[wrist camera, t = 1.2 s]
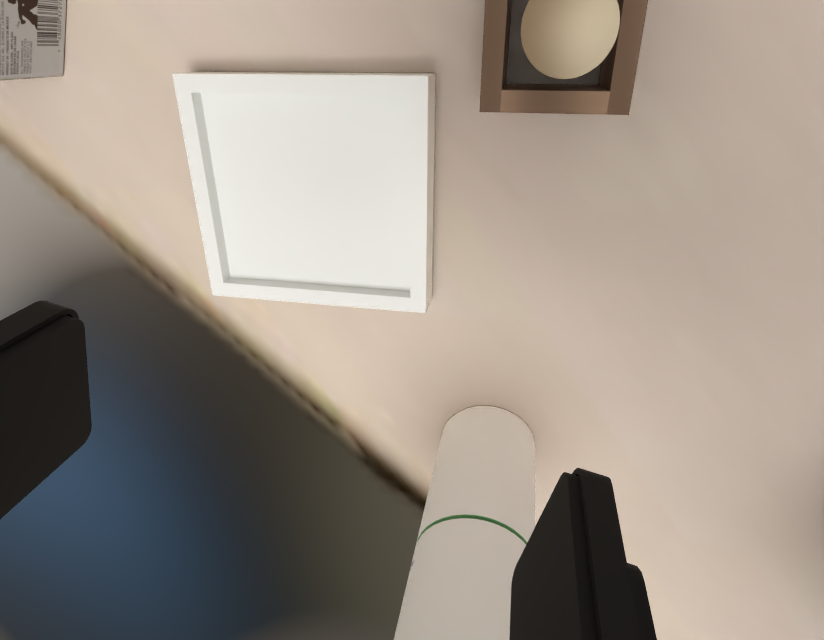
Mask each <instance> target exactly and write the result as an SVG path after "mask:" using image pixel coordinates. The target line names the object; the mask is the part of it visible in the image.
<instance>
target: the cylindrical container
mask: <svg viewBox="0 0 824 640" xmlns="http://www.w3.org/2000/svg"><path fill="white" fill-rule="evenodd" d="M534 528H535V443H534V438H533V435H532V432H531V431H530V429H529V428H528V426H527V425H526V424H525V423H524V422H523V421H522V420H521V419H520V418H519V417H517V416H516V415H515V414H513V413H511V412H509V411H507V410H505V409H501V408H498V407H492V406H475V407H470V408H467V409H464V410H462V411H460V412H458V413H456V414H455V415H453V416H452V417H451V418H450V419H449V420H448V422H447V423H446V425H445V427H444V429H443V432H442V436H441V440H440V444H439V449H438V453H437V457H436V462H435V466H434V470H433V474H432V479H431V483H430V487H429V492H428V496H427V500H426V504H425V509H424V513H423V517H422V522H421V526H420V530H419V535H418V539H417V543H416V547H415V552H414V556H413V560H412V565H411V569H410V573H409V578H408V582H407V586H406V590H405V595H404V599H403V603H402V608H401V612H400V616H399V621H398V625H397V629H396V633H395V638H394V640H509V638H510V608H511V584H512V577H513V573H514V569H515V567H516V564H517V562H518V560H519V558H520V556H521V554H522V552H523V550H524V548H525V546H526V544H527V542H528V540H529V538H530V536H531V534H532V532H533V530H534Z"/></svg>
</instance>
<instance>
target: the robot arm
mask: <svg viewBox="0 0 824 640" xmlns="http://www.w3.org/2000/svg"><path fill="white" fill-rule="evenodd" d="M91 426H92V425H91V412H90V397H89V384H88V370H87V356H86V342H85V328H84V324H83V322H82V321H81V320H79V317H78V314H77V313H76V312H75V311H74V310H72V309H70V308H67V307H64V306H60V305H57V304H54V303H50V302H48V301H38V302H35V303H33V304H31V305H29V306H28V307H26V308H24V309H22V310H20V311H18V312H16V313H14V314H12V315H10V316H9V317H6V318H5V319H3V320H1V321H0V519H1V518H2V517H3V516H4V515H5V514H7V513H8V512H9V511H10V510H11V509H12V508H13V507H14V506H15V505H17V504H18V503H19V502H20V501H21V500H22V499H23V498H24V497H25V496H27V495H28V494H29V493H30V492H31V491H32V490H33V489H34V488H35V487H37V486H38V485H39V484H40V483H41V482H42V481H43V480H44V479H46V478H47V477H48V476H49V475H50V474H51V473H52V472H53V471H54V470H55V469H57V468H58V467H59V466H60V465H61V464H62V463H63V462H64V461H65V460H67V459H68V458H69V457H70V456H71V455H72V454H73V453H74V452H76V451H77V450H78V449H79V448H80V447H81V446H82V445H83V444H84V443H85V442H86V440H87V439H88V437H89V435H90V432H91ZM509 640H657V638H656V634H655V629H654V624H653V620H652V615H651V610H650V606H649V601H648V596H647V591H646V587H645V582H644V579H643V576H642V573H641V571H640V569H639V568H638V567H637V566H635V565H632V564H629V563H627V562H626V556H625V551H624V546H623V540H622V535H621V530H620V524H619V519H618V514H617V508H616V503H615V498H614V492H613V487H612V483H611V480H610V478H609V477H606V476H603V475H600V474H596V473H593V472H590V471H587V470H584V469H580V468H577V469H575V470H574V472H573V473H572V474H569V473H566V472H564V473H563V474H562V475H561V477H560V479H559V481H558V483H557V485H556V487H555V489H554V491H553V493H552V495H551V497H550V499H549V501H548V503H547V505H546V507H545V509H544V511H543V513H542V514H541V516H540V518H539V520H538V522H537V524H536V526H535V528H534V530H533V532H532V534H531V536H530V538H529V540H528V542H527V544H526V546H525V548H524V550H523V552H522V554H521V556H520V558H519V560H518V562H517V564H516V567H515V569H514V573H513V577H512V584H511V608H510V638H509Z"/></svg>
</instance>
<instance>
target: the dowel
mask: <svg viewBox="0 0 824 640" xmlns="http://www.w3.org/2000/svg"><path fill="white" fill-rule="evenodd" d="M619 24H620V11H619V5H618V2H617V0H529V2H528V4H527V6H526V8H525V11H524V14H523V18H522V23H521V41H522V46H523V49H524V52H525V54H526V56H527V58H528V60H529V61H530V62H531V64H532V65H533V66H534V67H535V68H536V69H537V70H538V71H540V72H541V73H543V74H545V75H547V76H549V77H552V78H557V79H571V78H576V77H579V76H582V75H584V74H586V73H588V72H590V71H591V70H593V69H594V68H595V67H597V66H598V65H599V64H600V63H601V62H602V61H603V60H604V59H605V58H606V56H607V55H608V54H609V52H610V50H611V49H612V47H613V45H614V43H615V41H616V38H617V35H618V30H619Z"/></svg>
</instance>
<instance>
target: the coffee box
mask: <svg viewBox="0 0 824 640" xmlns="http://www.w3.org/2000/svg"><path fill="white" fill-rule="evenodd" d="M65 21H66V0H0V80H12V79H27V78H41V77H56V76H62V75H63V68H64V44H65Z"/></svg>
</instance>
